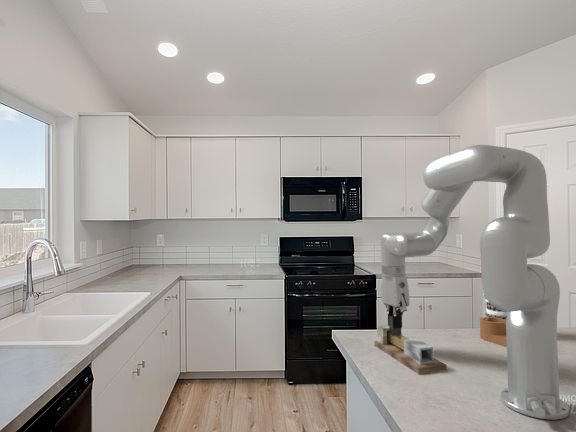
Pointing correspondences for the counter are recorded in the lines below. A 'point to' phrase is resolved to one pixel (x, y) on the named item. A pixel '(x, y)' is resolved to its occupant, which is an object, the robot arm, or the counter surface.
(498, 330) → the bracket
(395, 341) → the brass bolt with handle
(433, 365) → the sliding bolt latch
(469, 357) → the counter surface
